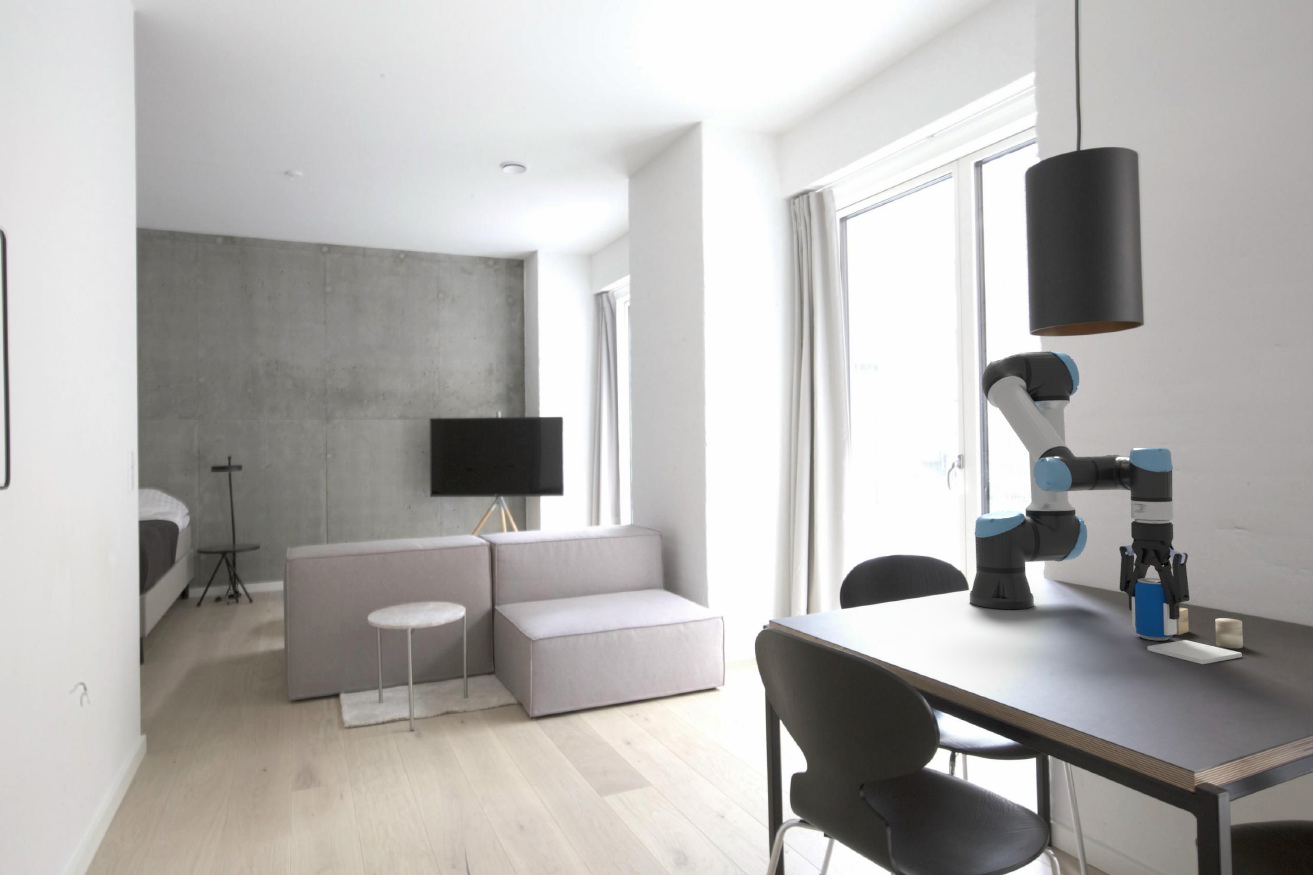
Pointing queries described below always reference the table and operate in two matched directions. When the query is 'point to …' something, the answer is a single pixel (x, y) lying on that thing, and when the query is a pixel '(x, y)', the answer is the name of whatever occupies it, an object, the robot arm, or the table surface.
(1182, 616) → the oak cube
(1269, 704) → the table surface
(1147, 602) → the beverage can
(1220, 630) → the birch cylinder
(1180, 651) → the pad
